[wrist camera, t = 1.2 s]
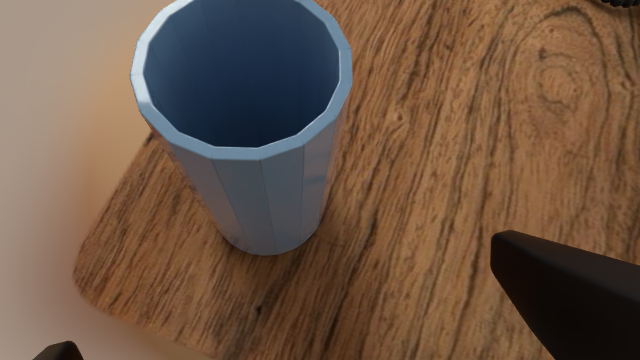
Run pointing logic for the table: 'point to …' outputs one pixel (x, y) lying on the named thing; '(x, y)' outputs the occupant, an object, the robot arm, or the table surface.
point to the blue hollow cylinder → (248, 111)
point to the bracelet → (622, 3)
